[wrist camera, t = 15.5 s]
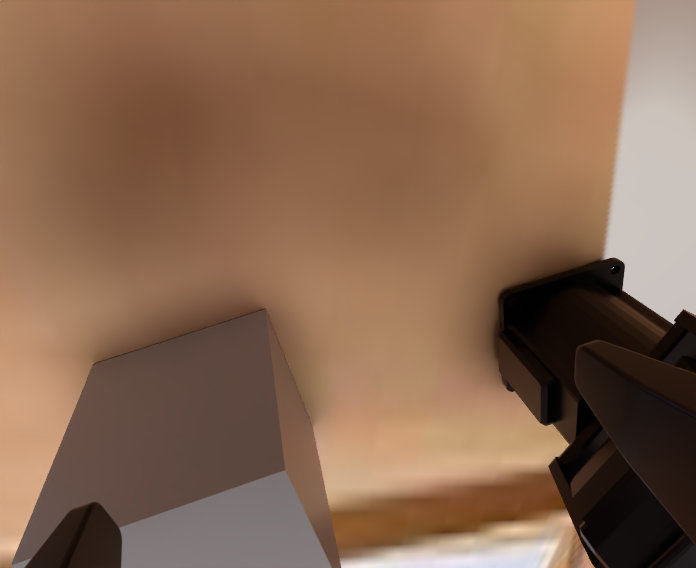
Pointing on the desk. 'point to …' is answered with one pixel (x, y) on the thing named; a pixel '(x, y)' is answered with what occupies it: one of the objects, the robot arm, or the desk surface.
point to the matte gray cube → (195, 456)
